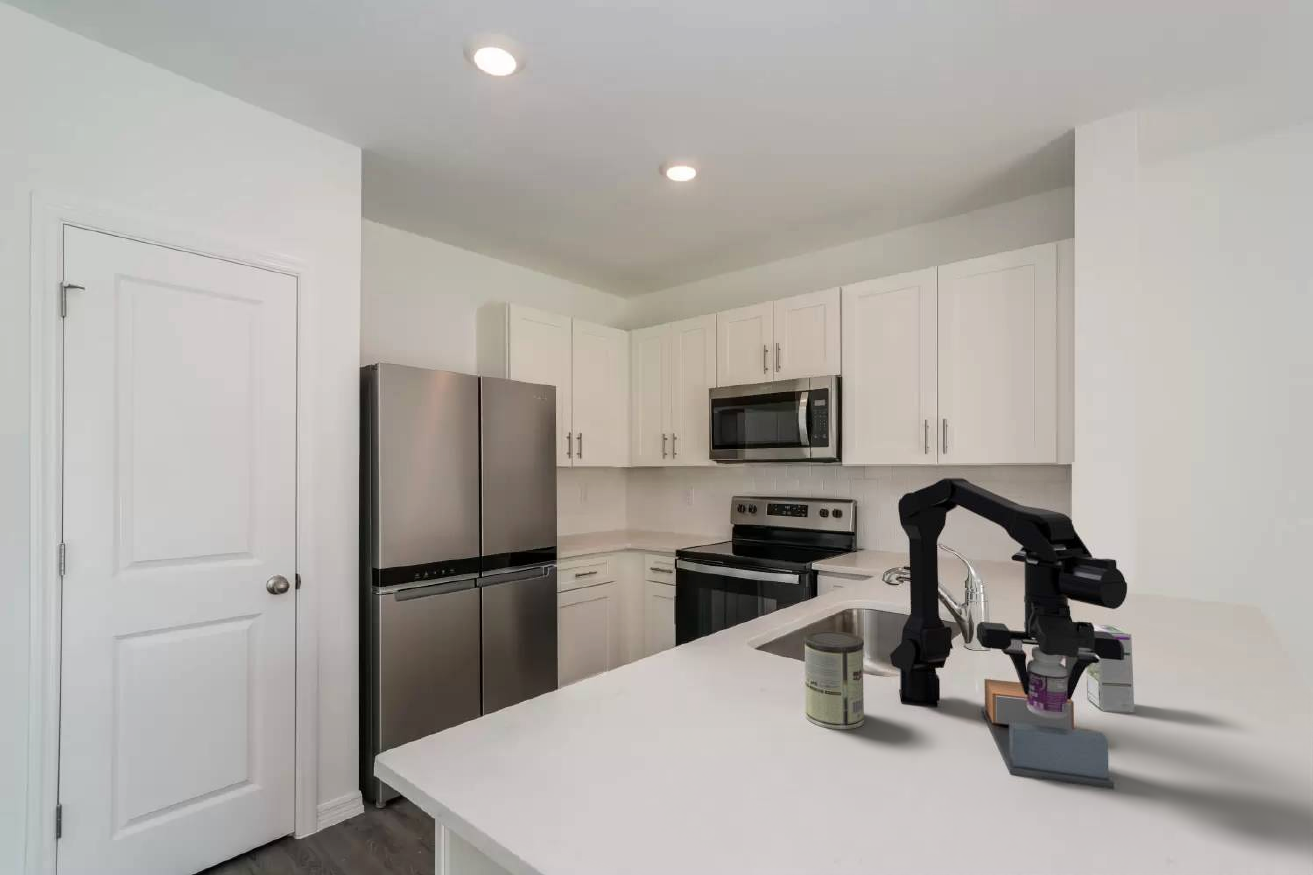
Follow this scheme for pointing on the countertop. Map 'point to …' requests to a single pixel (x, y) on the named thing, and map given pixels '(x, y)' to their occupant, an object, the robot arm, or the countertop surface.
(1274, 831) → the countertop surface
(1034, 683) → the pill bottle
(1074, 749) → the base
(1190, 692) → the countertop surface
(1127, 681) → the syrup box
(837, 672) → the coffee can
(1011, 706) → the block
